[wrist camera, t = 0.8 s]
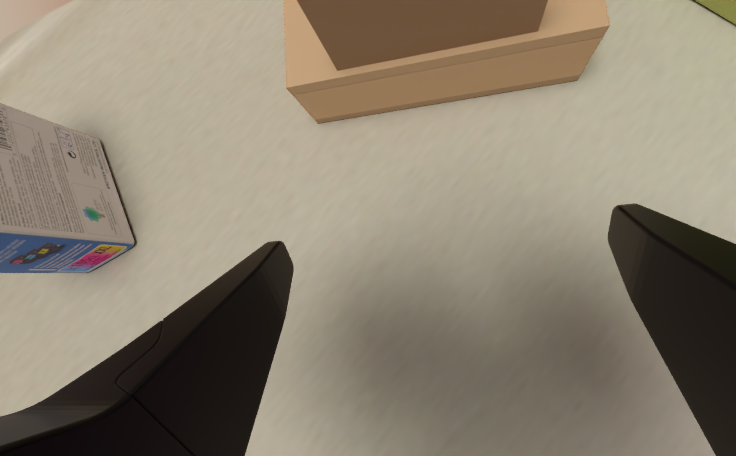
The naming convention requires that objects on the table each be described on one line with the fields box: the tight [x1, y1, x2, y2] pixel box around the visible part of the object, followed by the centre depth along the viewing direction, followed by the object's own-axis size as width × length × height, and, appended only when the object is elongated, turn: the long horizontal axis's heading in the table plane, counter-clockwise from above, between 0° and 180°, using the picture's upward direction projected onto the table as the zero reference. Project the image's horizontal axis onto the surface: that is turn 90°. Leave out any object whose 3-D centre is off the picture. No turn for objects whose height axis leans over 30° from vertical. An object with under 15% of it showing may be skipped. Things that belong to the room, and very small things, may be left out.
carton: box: [293, 37, 603, 123], centre depth 22 cm, size 16×8×4 cm, turn 94°
